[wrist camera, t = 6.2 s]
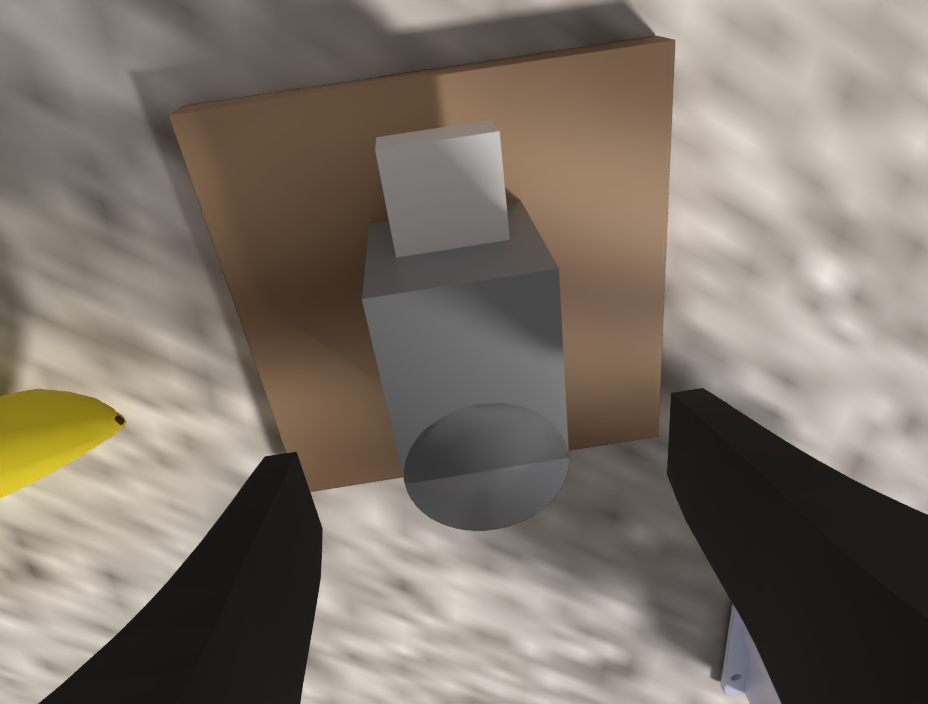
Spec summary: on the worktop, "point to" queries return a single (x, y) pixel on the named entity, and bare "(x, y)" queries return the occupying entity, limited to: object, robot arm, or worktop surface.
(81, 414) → the banana
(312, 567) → the robot arm
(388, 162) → the plug
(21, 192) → the worktop surface
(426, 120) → the board
